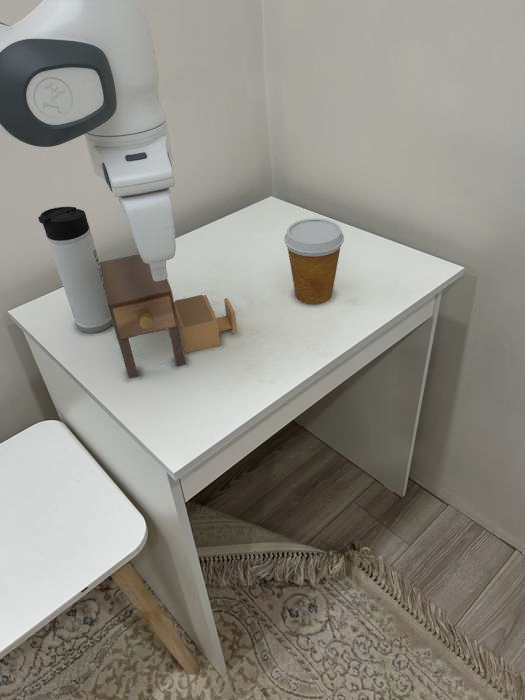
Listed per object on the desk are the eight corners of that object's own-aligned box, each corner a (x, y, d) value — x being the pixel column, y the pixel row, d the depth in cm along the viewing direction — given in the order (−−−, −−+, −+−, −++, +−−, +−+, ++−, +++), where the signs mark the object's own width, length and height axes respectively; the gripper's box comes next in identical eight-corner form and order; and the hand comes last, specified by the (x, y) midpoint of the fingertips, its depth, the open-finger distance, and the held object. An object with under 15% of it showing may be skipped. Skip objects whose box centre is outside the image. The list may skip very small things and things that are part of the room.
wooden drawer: (185, 353, 83) (180, 327, 80) (176, 327, 88) (171, 301, 85) (239, 340, 85) (237, 313, 81) (227, 315, 90) (224, 289, 87)
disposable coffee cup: (351, 288, 94) (354, 224, 87) (324, 316, 88) (325, 250, 81) (304, 274, 99) (303, 212, 91) (275, 300, 93) (272, 236, 85)
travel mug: (67, 325, 90) (28, 213, 78) (100, 307, 94) (67, 197, 81) (90, 339, 87) (52, 224, 74) (123, 319, 91) (92, 207, 78)
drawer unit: (130, 386, 78) (109, 312, 70) (119, 332, 88) (99, 261, 80) (188, 371, 80) (174, 297, 71) (170, 320, 90) (156, 250, 82)
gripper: (93, 128, 68) (118, 230, 76) (112, 188, 52) (140, 306, 61) (144, 120, 69) (162, 221, 78) (176, 176, 54) (195, 294, 62)
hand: (153, 259), depth 69 cm, fingers open, 8 cm apart
